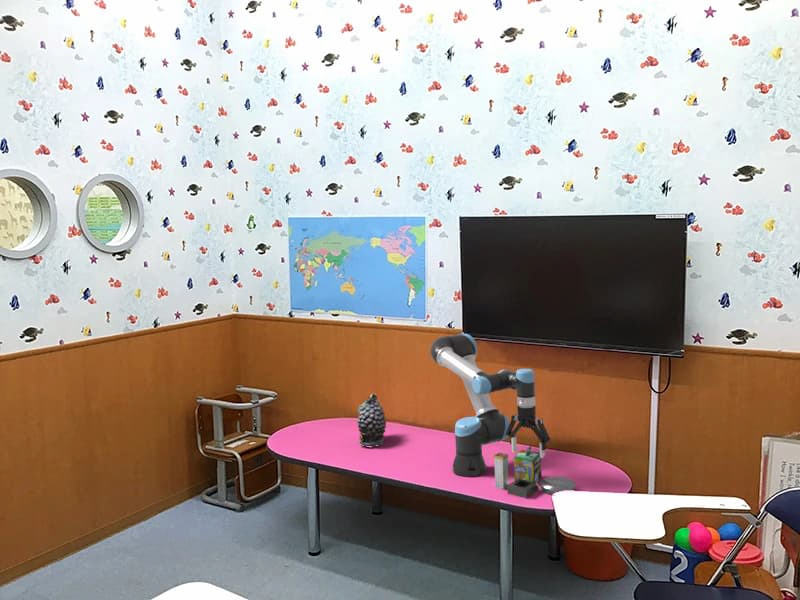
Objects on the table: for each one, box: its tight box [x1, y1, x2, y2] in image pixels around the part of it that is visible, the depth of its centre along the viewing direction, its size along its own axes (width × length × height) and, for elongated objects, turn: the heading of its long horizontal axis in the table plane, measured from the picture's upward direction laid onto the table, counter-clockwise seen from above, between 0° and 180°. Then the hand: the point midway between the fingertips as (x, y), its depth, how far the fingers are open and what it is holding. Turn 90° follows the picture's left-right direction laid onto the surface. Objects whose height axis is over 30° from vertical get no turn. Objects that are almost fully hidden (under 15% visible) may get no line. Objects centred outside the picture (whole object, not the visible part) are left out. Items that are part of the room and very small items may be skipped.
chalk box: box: [513, 445, 543, 483], centre depth 297 cm, size 9×9×15 cm
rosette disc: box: [539, 476, 576, 496], centre depth 286 cm, size 14×14×2 cm
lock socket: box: [506, 479, 539, 499], centre depth 284 cm, size 9×9×4 cm
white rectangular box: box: [493, 452, 510, 490], centre depth 290 cm, size 4×4×14 cm
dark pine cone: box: [356, 392, 387, 446], centre depth 355 cm, size 21×15×25 cm
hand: (528, 454), depth 296 cm, fingers open, 13 cm apart
